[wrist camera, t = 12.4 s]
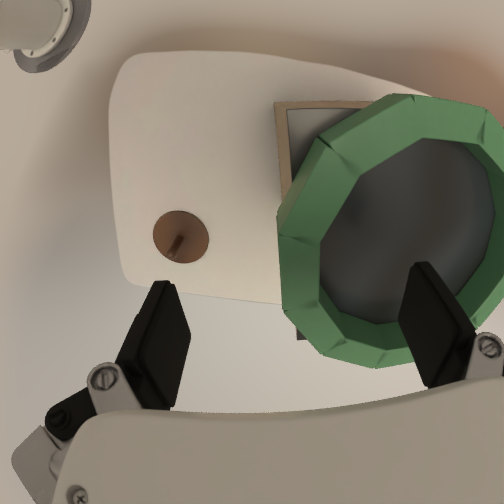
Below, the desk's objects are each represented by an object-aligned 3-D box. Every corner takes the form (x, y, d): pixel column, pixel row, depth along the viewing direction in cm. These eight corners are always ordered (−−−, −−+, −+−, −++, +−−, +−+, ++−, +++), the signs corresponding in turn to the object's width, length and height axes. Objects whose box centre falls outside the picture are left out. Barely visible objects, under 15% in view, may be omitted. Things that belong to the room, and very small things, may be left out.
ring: (264, 92, 11) (264, 91, 9) (522, 119, 10) (548, 128, 8) (284, 350, 19) (285, 378, 17) (474, 322, 18) (487, 343, 15)
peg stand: (161, 263, 47) (150, 283, 42) (148, 214, 43) (133, 230, 38) (213, 260, 46) (206, 281, 41) (203, 207, 42) (194, 224, 37)
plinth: (282, 201, 41) (296, 340, 18) (273, 102, 34) (286, 109, 12) (375, 196, 40) (470, 315, 17) (375, 102, 33) (513, 130, 10)
